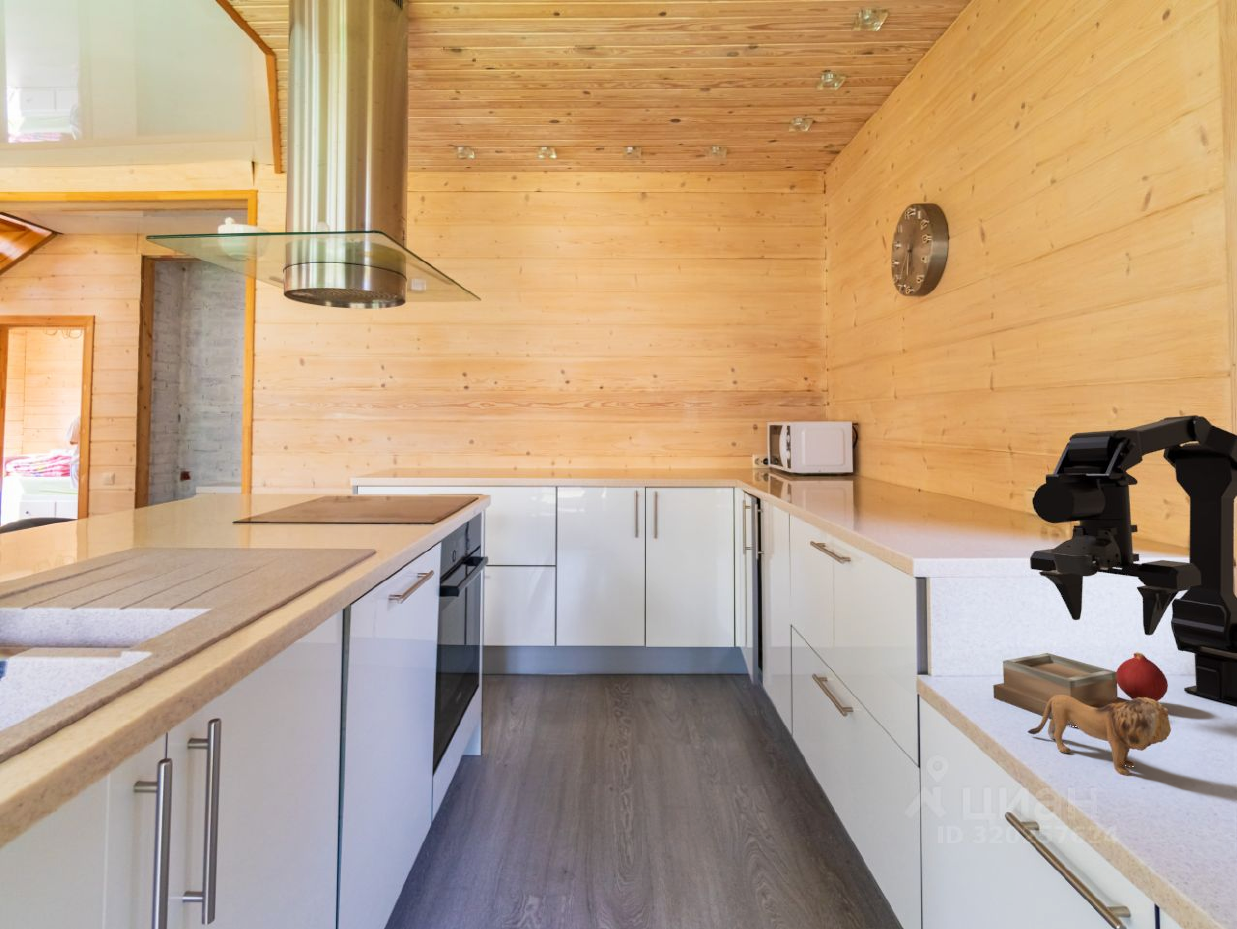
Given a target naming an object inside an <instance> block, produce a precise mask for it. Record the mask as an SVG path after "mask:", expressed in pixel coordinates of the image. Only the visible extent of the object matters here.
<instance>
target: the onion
mask: <svg viewBox="0 0 1237 929" xmlns="http://www.w3.org/2000/svg"><path fill="white" fill-rule="evenodd" d="M1132 654H1133V657H1131V658H1128V659H1126V660H1125V661H1123V662H1122V663H1121V664H1120V665H1119V667H1118V668H1117V669H1116V672H1117V687H1119V689H1120V690H1121V691H1122V692H1123V693H1124V694H1125V695H1126V696H1128V698H1130V700H1132V699H1136V698H1138V697H1140V698H1144V697H1147V698H1150V699H1154V700H1155V701H1157V702H1158V701H1160V700H1162V699H1163V698H1164V697H1165V695H1166V694H1167V692H1168V688H1169V683H1168V679H1167V677H1166V675H1165V674H1164V672H1163V671H1162V670H1161V669H1160V668H1159V667H1158V666H1157V665H1156V663H1155V662H1153V661H1152V660H1150V659H1149V658H1147V657H1146V656H1145V655H1144V654H1143V653H1141V652H1134V653H1132Z"/></svg>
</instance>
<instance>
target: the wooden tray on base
mask: <svg viewBox="0 0 1237 929" xmlns="http://www.w3.org/2000/svg"><path fill="white" fill-rule="evenodd" d="M1002 667H1003V668H1002V671H1003V673H1002V674H1003V683H998V684H996V683H995V684H993V686H992V687H993V689H992V690H993V698H994V699H996V700H999V701H1002V702H1004V703H1007V704H1010V705H1013V706H1015V707H1017V708H1019V709H1022V710H1025V711H1028V712H1031V713H1033V714H1036V715H1038V716H1041V717H1043V715H1044V712H1045V709H1046V705H1047V703H1048V701H1049V700H1050V699H1051V698H1052V697H1054V696H1056V695H1065V696H1070V697H1073V698H1075V699H1077V700H1078V701H1080V702H1082V703H1084V704H1086V705H1088V706H1091V707H1094V708H1103V707H1104V706H1107V705H1109V704H1112V703H1114V704H1117V703H1124V702H1125V701H1130V700H1131V699H1126V698H1123V697H1120V696H1118V694H1119V693H1118V684H1117V671H1115V670H1112V669H1107V668H1105V667H1104V668H1103V667H1101V666H1097V665H1093V664H1089V663H1085V662H1081V661H1078V660H1074V659H1071V658H1068V657H1064V656H1061V655H1060V656H1059V655H1056V654H1052V653H1050V652H1044V653H1039V654H1034V655H1029V656H1021V657H1017V658H1011V659H1004V660H1003V661H1002ZM1052 719H1053V715H1052V709H1051V712H1050V714H1049V717H1048V720H1052ZM1068 725H1071V726H1074V727H1075V726H1076V725H1075V724H1074V723H1073V722H1072V723H1070V724H1068ZM1068 725H1067V726H1068Z"/></svg>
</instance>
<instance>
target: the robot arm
mask: <svg viewBox="0 0 1237 929" xmlns="http://www.w3.org/2000/svg"><path fill="white" fill-rule="evenodd" d="M1068 441H1069V442H1067V443H1066V445H1065V447H1064V450H1063V452H1062V453H1061V455H1060V457H1059V460H1058V462H1057V464H1056V466H1055V468H1054V471H1053V472H1052V473H1051V474H1045V483H1043V484H1041V485H1040V486H1039V487H1038V488H1036V491H1035V492H1034V495H1033V497H1032V499H1031V500H1032V501H1031V502H1032V506H1033V507H1032V508H1033V510H1034V512H1035V513H1036V515H1037V516H1038V517H1039V518H1040V519H1041V520H1043V521H1045V522H1047V523H1050V524H1063V523H1072V522H1073V523H1074V522H1079V524H1076V525H1075V524H1074V525H1073V528H1072V535H1071V538H1070V539H1067V540H1065V541H1063V542H1061V543H1059V544H1058V545H1057V546H1056V547H1055V548H1049V549H1042V550H1034V551H1033V553H1032V554H1031V555H1030V557H1029V562H1030V563H1029V566H1030V569H1031V570H1034V571H1035V570H1036V571H1039V572H1038V574H1039V575H1040V576H1042V577H1045V578H1046V579H1048V580H1049V581H1050V582H1052V584H1054V585H1055V587H1056V589H1057V590H1058V592H1059V594H1060V596H1061V598H1062V600H1063V602H1064V604H1065V606H1066V608H1067V610H1068V613H1069V614H1070V617H1071V619H1072V620H1074V621H1079V620H1080V619H1081V616H1082V610H1083V586H1084V585H1083V584H1084V577H1092V576H1095V575H1096V574H1097V573H1104V574H1111V575H1117V576H1119V575H1120V576H1125V577H1132V578H1133V577H1134V578H1138V580H1139V581H1140V582H1141V583H1142V584H1144V585H1140V586H1137V587H1136V590H1138V593H1139V594H1140V595H1141V598H1142V626H1143V631H1144V635H1145V636H1152V635H1154V633H1155V631H1156V630H1157V627H1158V626H1159V624H1160V622H1161V621H1162V619H1163V616H1164V615H1165V612H1166V611H1167V609H1168V608H1169V607H1170V605H1171V610H1172V613H1171V619H1170V620H1171V621H1170V626H1171V631H1172V634H1173V638H1174V641H1175V645H1176V648H1177V650H1178V651H1179V652H1187V653H1191V654H1194V671H1195V672H1194V674H1195V678H1194V679H1195V685H1191V686H1187V687H1184V688H1183V689H1184V690H1183V691H1184V692H1186V693H1189V694H1192V695H1196V696H1200V697H1202V698H1203V697H1204V698H1206V699H1211V700H1215V701H1218V702H1223V703H1226V704H1229V705H1232V706H1237V596H1236V594H1235V593H1234V592H1235V591H1234V580H1235V578H1234V577H1235V576H1234V572H1235V571H1234V565H1235V564H1234V563H1235V559H1234V558H1235V557H1234V556H1235V555H1234V554H1235V552H1234V551H1235V547H1234V545H1235V543H1234V542H1235V539H1234V538H1235V536H1234V534H1235V532H1234V531H1235V499H1236V498H1237V434H1235V433H1232V432H1230V431H1227V430H1226V429H1223V428H1220V427H1217V426H1215V425H1213V424H1212V423H1211V422H1210V421H1209V420H1208V418H1206V417H1205V416H1202V415H1201V416H1199V415H1197V414H1195V415H1193V414H1192V415H1182V416H1169V417H1164V418H1163V419H1159V421H1154V422H1151V423H1145V424H1142V425H1139V426H1134V427H1131V428H1130V427H1129V428H1127V429H1115V430H1103V431H1102V430H1099V431H1086V432H1084V431H1083V432H1076V433H1074V434H1072V435H1071V436H1070V437H1069V439H1068ZM1162 450H1164V451H1163V456H1162V457H1163V458H1164V460H1165V461H1167V462H1168V463H1169V465H1171V467H1172V468H1174V472H1175V479H1176V480H1175V481H1176V482H1177V484H1178V485H1179V486H1180V487H1181V488H1182V489H1183V491H1184V492H1185V493H1186V494H1187V496H1188V497H1189V550H1188V551H1189V557H1188V558H1189V559H1188V560H1189V561H1188V562H1183V561H1182V562H1181V561H1174V560H1164V559H1161V560H1155V561H1147V562H1142V563H1136V562H1140V553H1134V549H1133V533H1138V530H1139V529H1138V524H1132V518H1131V517H1132V516H1131V501H1130V500H1131V499H1130V498H1131V496H1130V486H1136V485H1137V484H1138V479H1136V477H1134V476H1132V475H1130V474H1129V473H1128V472H1127V471H1128V470H1130V469H1131V468H1133V467H1135V466H1138V464H1140V463H1142V462H1143V461H1144V460H1143V457H1144V456H1145V455H1148V454H1152V453H1155V452H1158V451H1162ZM1179 592H1185V593H1184V594H1182V596H1181V597H1180V598H1176V597H1177V595H1178V594H1179Z"/></svg>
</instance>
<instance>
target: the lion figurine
mask: <svg viewBox="0 0 1237 929" xmlns="http://www.w3.org/2000/svg"><path fill="white" fill-rule="evenodd" d="M1129 700H1130V701H1125V702H1124V703H1117V704H1114V703H1112V704H1109V705H1107V706H1104V707H1103V708H1094V707H1091V706H1088V705H1086V704H1084V703H1082V702H1080V701H1078V700H1077V699H1075V698H1073V697H1070V696H1065V695H1056V696H1054V697H1052V698H1051V699H1050V700H1049V701H1048V703H1047V705H1046V709H1045V712H1044V715H1043V716H1042V719H1041V722H1040V723H1039V725H1037V726H1036V727H1034V728H1031V729H1029V730H1027V733H1028V734H1031V735H1037V734H1039V733H1040V732H1041V731H1042V730H1043V729H1044V727H1045V726H1046V723H1047V722H1048V720H1049V718H1048V717H1049V714H1050V712H1051V709H1052V715H1053V719H1050V721H1049V725H1048V729H1047V734H1048V737H1049V738H1050V739H1052V740H1054V739H1055V742H1056V747H1057V750H1058V751H1059V750H1060V751H1061V752H1060V751H1059V752H1060V753H1062V752H1063V753H1062V754H1066V753H1068V754H1070V753H1071V749H1070V748H1069V747H1067V746H1066V745H1065V744H1064V741H1063V735H1064V733H1065V730H1066V728H1067V726H1068V724H1070V723H1072V722H1073V723H1074V724H1075V725H1076V726H1077V727H1076V728H1078V729H1079V730H1080V731H1081V732H1083V733H1084V734H1085V735H1088V736H1089V737H1090V738H1091V737H1092V738H1094V739H1097V740H1101V741H1105V742H1108V744H1109V746H1110V750H1111V754H1112V755H1111V756H1112V760H1113V761H1112V762H1113V767H1114V770H1115V771H1116V772H1117V774H1119V773H1120V775H1121V774H1123V776H1129V775H1130V773H1131V772H1130V770H1129V769H1128V768H1127V767H1126V766H1130V767H1132V766H1134V767H1135V763H1134V762H1133V761H1131V760H1128V755H1129V752H1130V750H1138V751H1144V750H1146V749H1147V748H1148V747H1151V745H1155V744H1158V743H1163V742H1164V741H1166V740H1167V738H1168V737H1169V736H1170V734H1171V732H1172V728H1171V724H1170V716H1168V715H1169V713H1168V712H1169V710H1168V708H1166V707H1164V706H1163V705H1162V703H1160V702H1158V701H1155V700H1154V699H1150V698H1147V697H1144V698H1140V697H1138V698H1136V699H1129ZM1125 765H1126V766H1125ZM1132 768H1133V767H1132Z"/></svg>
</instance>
